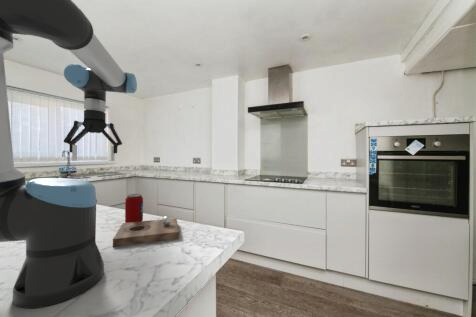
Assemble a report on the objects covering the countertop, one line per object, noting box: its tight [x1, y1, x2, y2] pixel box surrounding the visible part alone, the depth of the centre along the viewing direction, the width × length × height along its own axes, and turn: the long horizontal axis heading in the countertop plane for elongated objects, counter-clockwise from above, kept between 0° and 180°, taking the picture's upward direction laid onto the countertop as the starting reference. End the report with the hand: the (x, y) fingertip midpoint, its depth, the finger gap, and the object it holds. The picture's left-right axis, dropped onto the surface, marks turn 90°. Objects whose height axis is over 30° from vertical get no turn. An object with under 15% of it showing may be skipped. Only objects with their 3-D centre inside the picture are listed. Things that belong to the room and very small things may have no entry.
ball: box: [161, 215, 172, 226], centre depth 76 cm, size 4×4×4 cm
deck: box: [112, 217, 180, 248], centre depth 74 cm, size 20×16×2 cm
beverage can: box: [124, 193, 144, 223], centre depth 85 cm, size 7×7×12 cm
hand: (94, 160), depth 85 cm, fingers open, 13 cm apart
